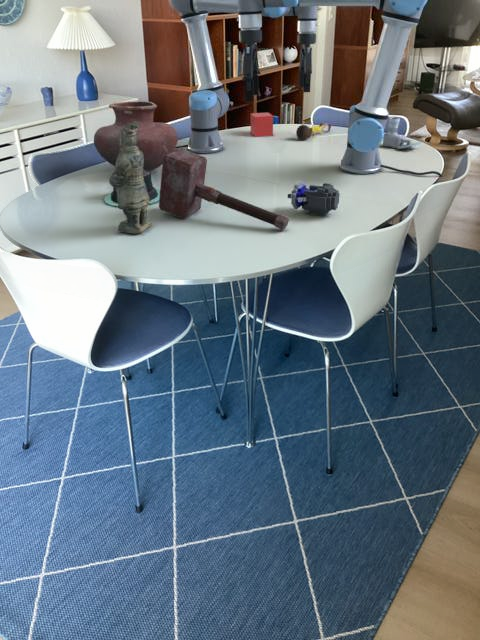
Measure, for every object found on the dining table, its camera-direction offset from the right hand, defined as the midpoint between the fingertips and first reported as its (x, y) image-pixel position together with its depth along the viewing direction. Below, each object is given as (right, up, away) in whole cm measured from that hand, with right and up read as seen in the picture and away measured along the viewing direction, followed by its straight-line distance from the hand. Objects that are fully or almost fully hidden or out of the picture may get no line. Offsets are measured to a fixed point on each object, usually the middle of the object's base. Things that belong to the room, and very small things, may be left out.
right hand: (252, 98), depth 193 cm
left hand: (+23, +19, +40) cm, 50 cm away
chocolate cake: (-40, -36, -6) cm, 54 cm away
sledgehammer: (-9, -48, -27) cm, 55 cm away
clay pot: (-43, -20, +22) cm, 52 cm away
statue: (-35, -51, -31) cm, 69 cm away
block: (+6, +12, +75) cm, 76 cm away
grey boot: (+65, -3, +46) cm, 79 cm away
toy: (+18, -44, -22) cm, 53 cm away
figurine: (+30, +10, +69) cm, 76 cm away
